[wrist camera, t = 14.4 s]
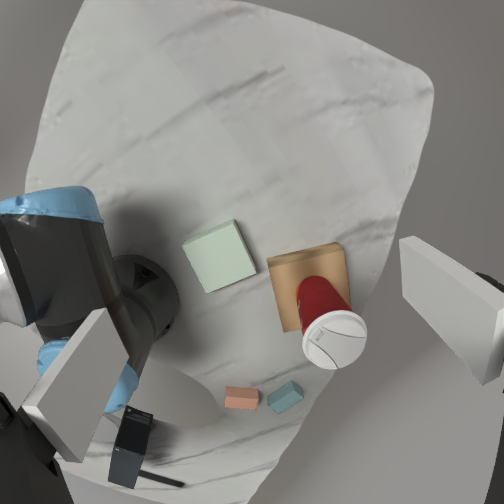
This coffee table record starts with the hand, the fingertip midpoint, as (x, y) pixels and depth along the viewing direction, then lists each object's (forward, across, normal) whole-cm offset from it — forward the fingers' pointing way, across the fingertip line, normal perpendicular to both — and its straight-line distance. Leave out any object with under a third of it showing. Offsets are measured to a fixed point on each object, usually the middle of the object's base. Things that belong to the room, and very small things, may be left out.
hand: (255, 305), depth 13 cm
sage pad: (+35, -6, -8) cm, 36 cm away
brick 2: (+35, -2, -38) cm, 52 cm away
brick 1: (+35, -10, -36) cm, 51 cm away
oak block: (+35, +6, -16) cm, 39 cm away
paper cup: (+31, +6, -16) cm, 35 cm away
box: (+35, -37, -44) cm, 67 cm away
